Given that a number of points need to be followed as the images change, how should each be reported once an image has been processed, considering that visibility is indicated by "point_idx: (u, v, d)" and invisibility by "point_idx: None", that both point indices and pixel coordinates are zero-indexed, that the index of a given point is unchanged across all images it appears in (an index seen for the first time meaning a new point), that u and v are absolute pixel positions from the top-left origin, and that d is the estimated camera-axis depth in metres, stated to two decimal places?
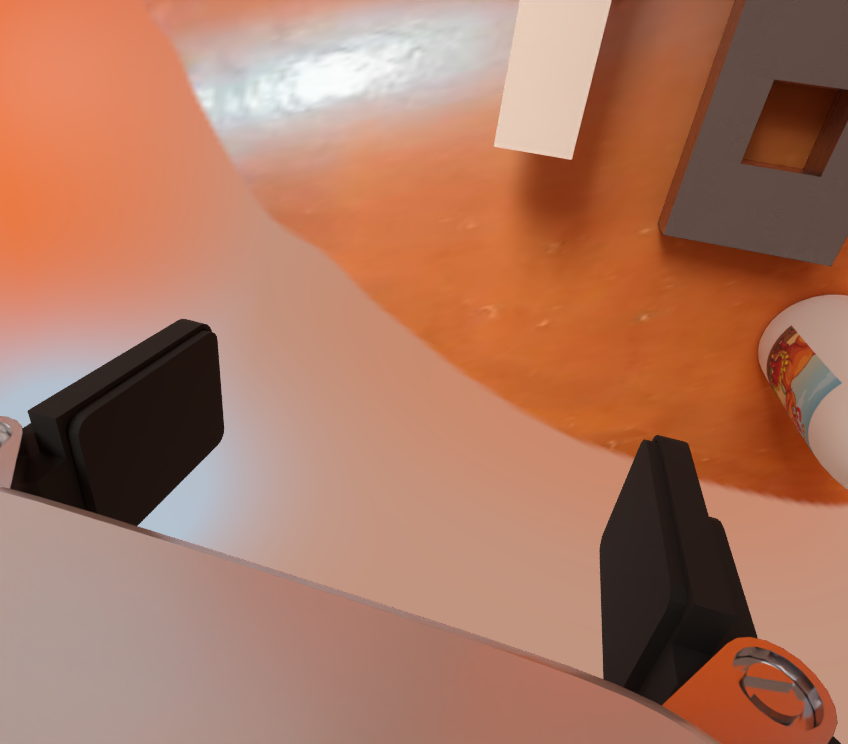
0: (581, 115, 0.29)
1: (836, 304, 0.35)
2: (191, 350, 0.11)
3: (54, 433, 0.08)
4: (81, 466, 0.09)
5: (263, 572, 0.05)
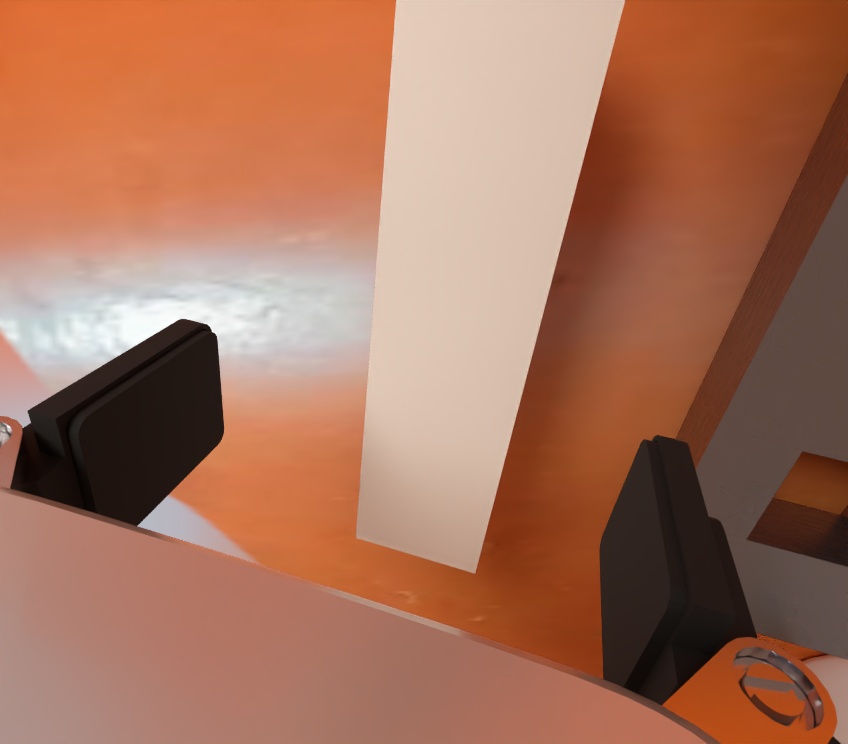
0: (484, 528, 0.18)
1: None
2: (191, 350, 0.11)
3: (54, 433, 0.08)
4: (81, 466, 0.09)
5: (263, 572, 0.05)
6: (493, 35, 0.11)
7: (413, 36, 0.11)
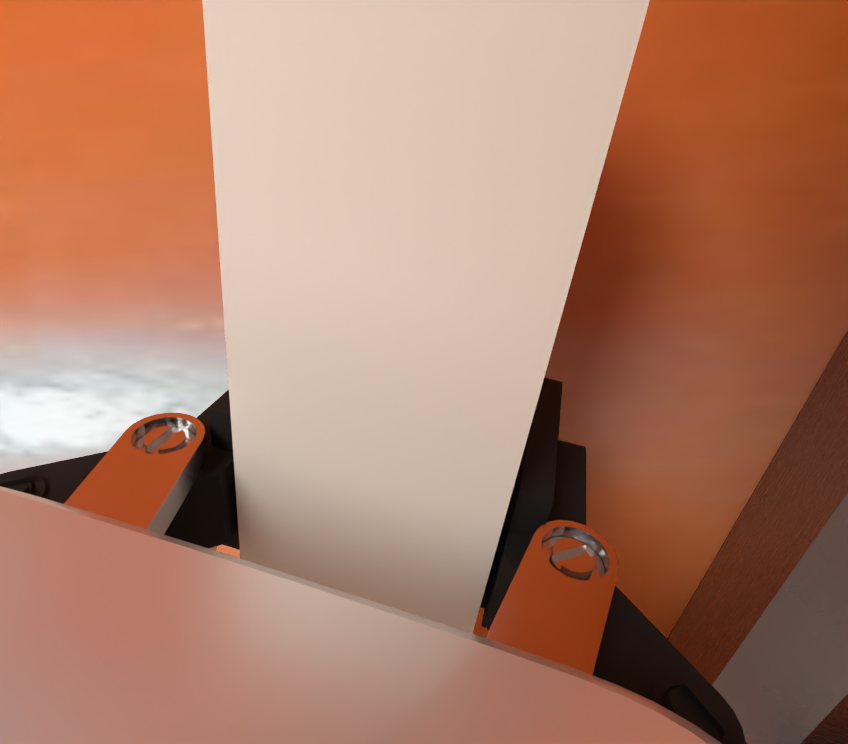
0: None
1: None
2: None
3: (231, 429, 0.09)
4: None
5: (263, 572, 0.05)
6: (385, 87, 0.06)
7: (242, 85, 0.06)
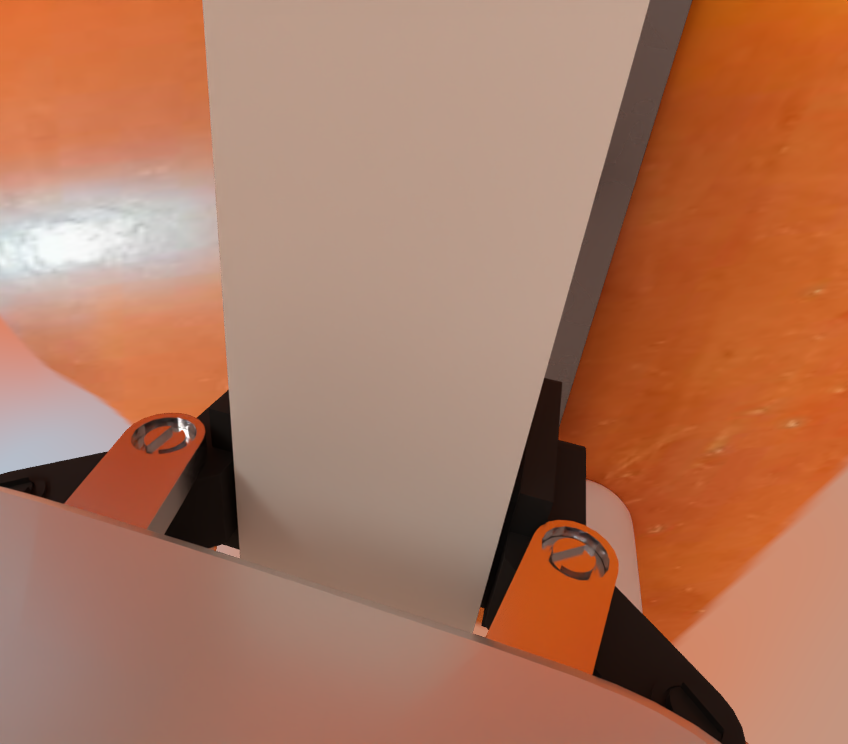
0: None
1: None
2: None
3: (231, 429, 0.09)
4: None
5: (263, 572, 0.05)
6: (384, 94, 0.06)
7: (242, 92, 0.06)
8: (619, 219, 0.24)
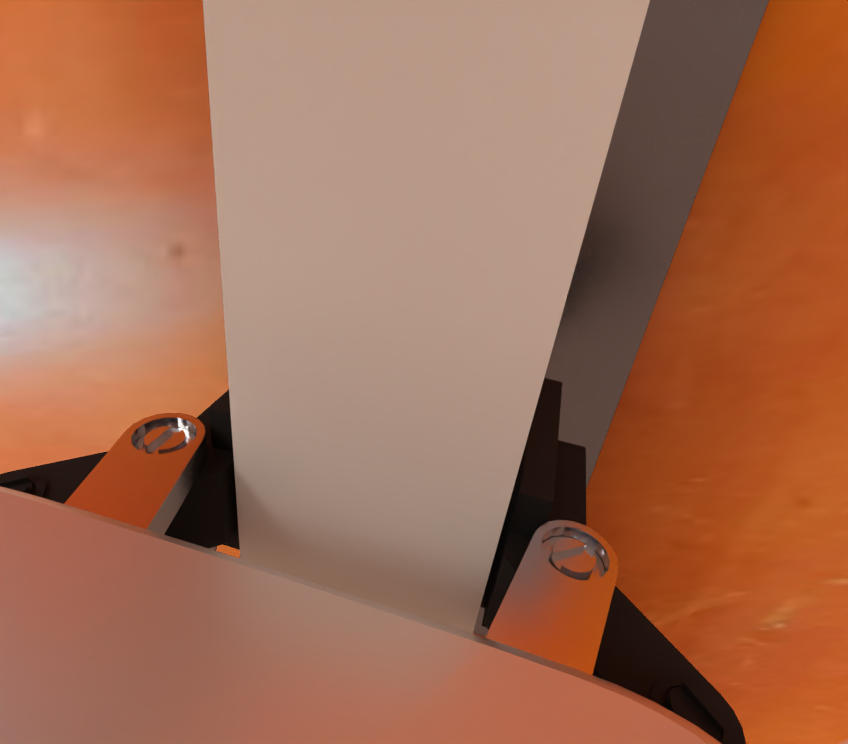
0: None
1: None
2: None
3: (231, 429, 0.09)
4: None
5: (263, 572, 0.05)
6: (384, 97, 0.06)
7: (243, 94, 0.06)
8: (641, 320, 0.14)
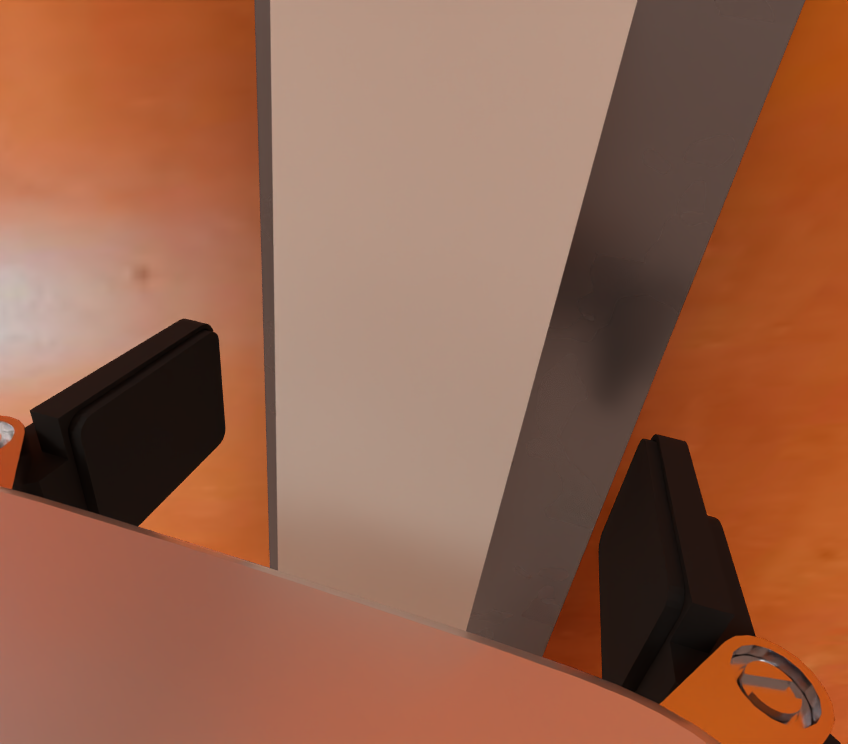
0: None
1: None
2: (193, 350, 0.11)
3: (56, 433, 0.08)
4: (83, 466, 0.09)
5: (263, 572, 0.05)
6: (420, 84, 0.07)
7: (300, 83, 0.07)
8: (650, 363, 0.12)
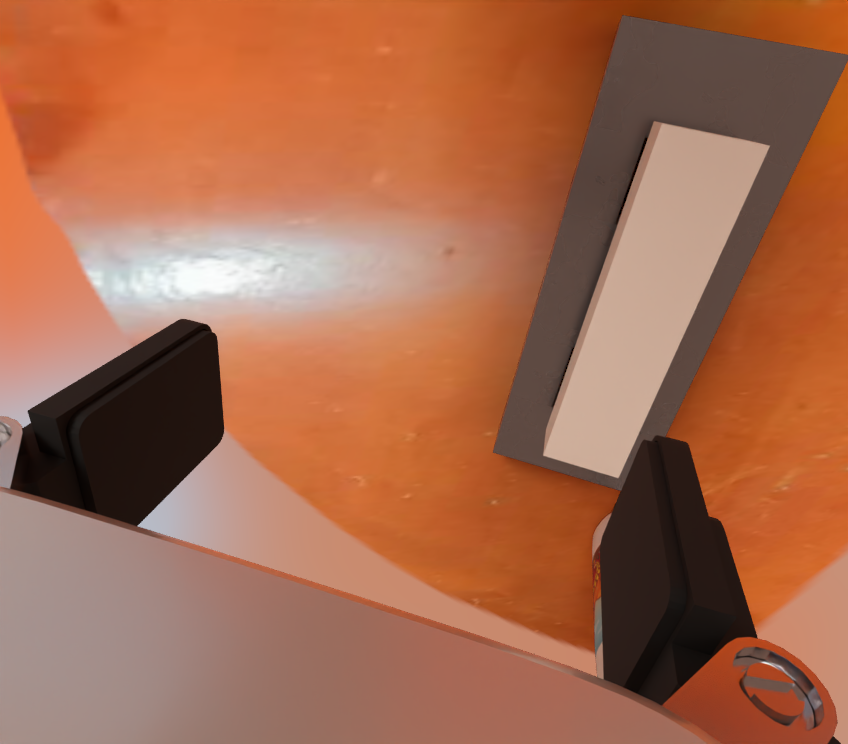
0: (631, 446, 0.30)
1: None
2: (191, 350, 0.11)
3: (54, 433, 0.08)
4: (81, 466, 0.09)
5: (263, 572, 0.05)
6: (689, 190, 0.24)
7: (649, 187, 0.24)
8: (730, 294, 0.29)
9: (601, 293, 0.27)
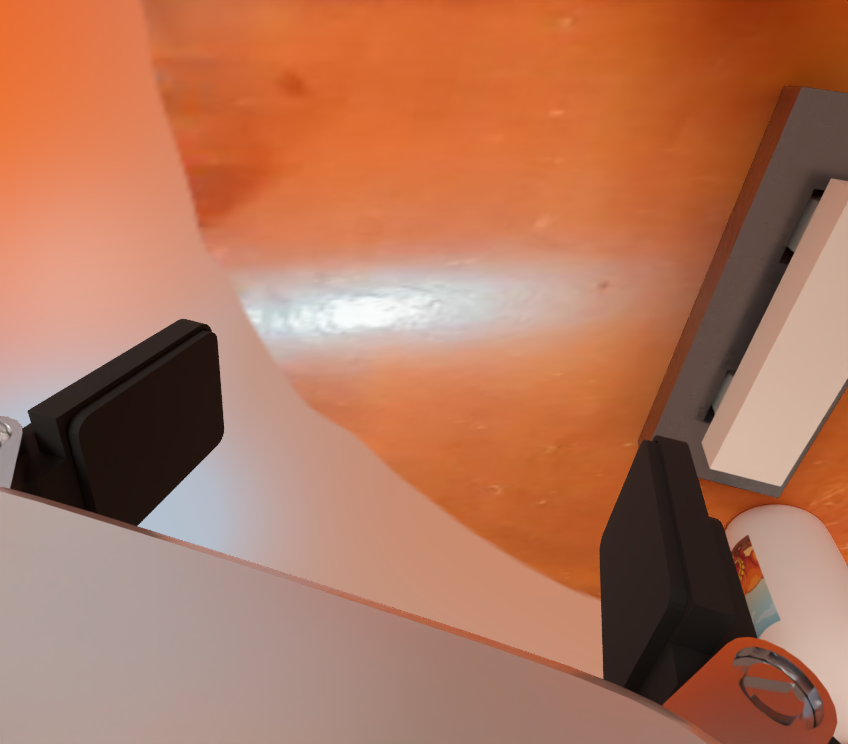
0: (796, 459, 0.34)
1: (784, 521, 0.42)
2: (191, 350, 0.11)
3: (54, 433, 0.08)
4: (81, 466, 0.09)
5: (263, 572, 0.05)
6: None
7: (837, 240, 0.28)
8: None
9: (781, 329, 0.30)
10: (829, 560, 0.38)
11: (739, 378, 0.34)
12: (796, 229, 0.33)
